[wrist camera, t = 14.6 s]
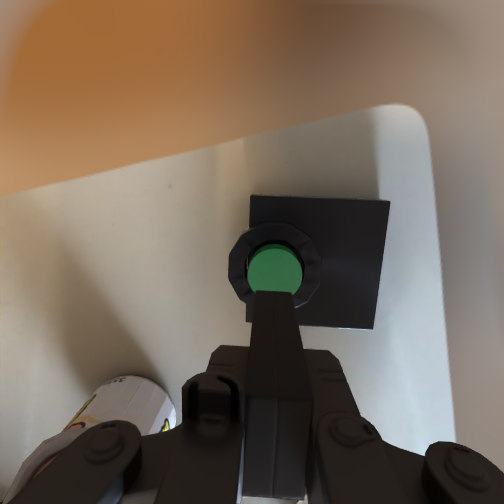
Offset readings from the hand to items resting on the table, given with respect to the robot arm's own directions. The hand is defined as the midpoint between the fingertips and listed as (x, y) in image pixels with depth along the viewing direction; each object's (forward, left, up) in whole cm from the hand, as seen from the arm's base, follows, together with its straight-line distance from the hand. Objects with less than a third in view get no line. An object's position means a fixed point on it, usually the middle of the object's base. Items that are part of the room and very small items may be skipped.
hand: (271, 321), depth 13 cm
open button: (0, 0, -9) cm, 9 cm away
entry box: (0, +3, -13) cm, 13 cm away
